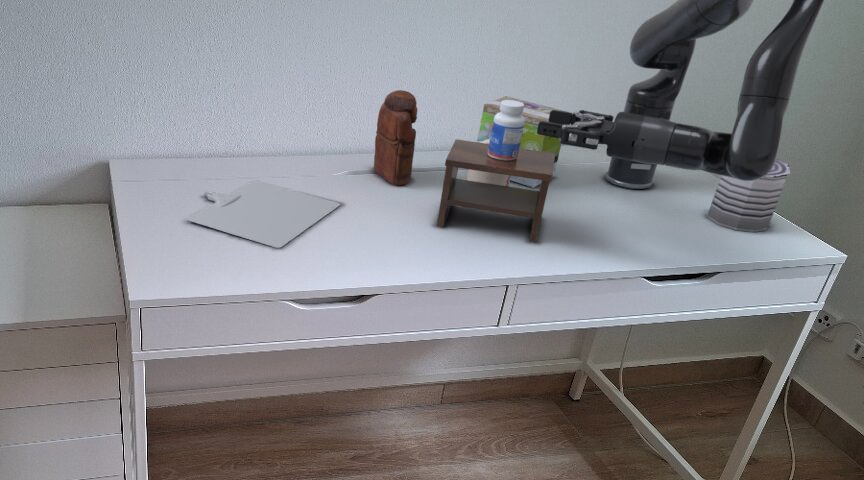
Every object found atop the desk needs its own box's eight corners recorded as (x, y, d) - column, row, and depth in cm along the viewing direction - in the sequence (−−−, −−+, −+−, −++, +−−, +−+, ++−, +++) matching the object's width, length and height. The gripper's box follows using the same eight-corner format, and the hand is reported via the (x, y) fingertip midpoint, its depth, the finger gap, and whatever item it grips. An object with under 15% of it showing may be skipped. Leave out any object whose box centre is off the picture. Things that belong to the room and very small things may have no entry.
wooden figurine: (419, 184, 180) (431, 97, 170) (392, 187, 178) (403, 99, 168) (391, 165, 189) (402, 82, 180) (365, 168, 187) (375, 84, 178)
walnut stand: (445, 203, 171) (455, 139, 165) (540, 218, 167) (555, 153, 160) (435, 226, 161) (445, 159, 154) (536, 243, 156) (552, 175, 150)
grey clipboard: (238, 178, 178) (238, 173, 177) (341, 207, 169) (341, 201, 168) (167, 217, 159) (167, 211, 158) (278, 251, 150) (279, 245, 149)
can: (782, 227, 168) (804, 168, 162) (743, 236, 164) (764, 175, 158) (732, 206, 177) (751, 149, 171) (693, 214, 172) (711, 155, 166)
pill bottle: (483, 151, 159) (492, 98, 154) (511, 151, 160) (522, 98, 155) (492, 161, 154) (502, 106, 149) (521, 161, 155) (532, 107, 150)
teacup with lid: (514, 199, 175) (526, 143, 169) (471, 199, 174) (481, 142, 168) (494, 178, 185) (504, 124, 179) (453, 178, 184) (462, 124, 178)
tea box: (470, 170, 189) (482, 102, 181) (492, 160, 195) (505, 94, 188) (534, 189, 180) (549, 119, 173) (555, 177, 187) (570, 109, 180)
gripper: (653, 107, 148) (557, 91, 154) (641, 127, 137) (538, 109, 144) (641, 149, 152) (548, 132, 158) (628, 172, 141) (529, 153, 147)
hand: (544, 121), depth 151 cm, fingers open, 8 cm apart
